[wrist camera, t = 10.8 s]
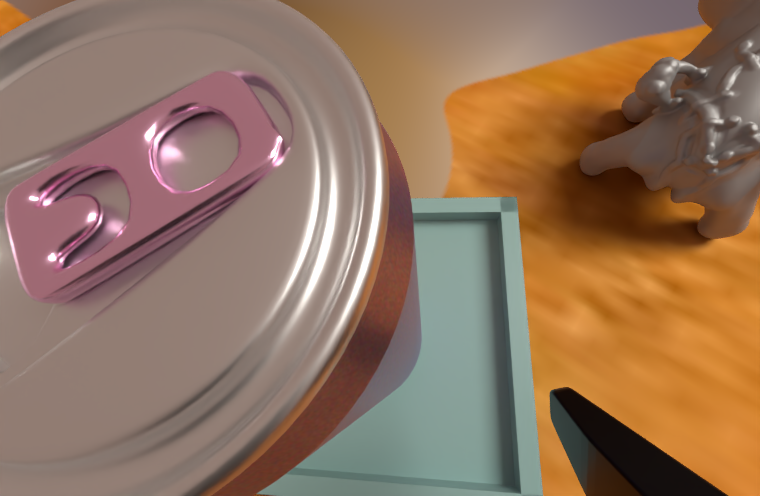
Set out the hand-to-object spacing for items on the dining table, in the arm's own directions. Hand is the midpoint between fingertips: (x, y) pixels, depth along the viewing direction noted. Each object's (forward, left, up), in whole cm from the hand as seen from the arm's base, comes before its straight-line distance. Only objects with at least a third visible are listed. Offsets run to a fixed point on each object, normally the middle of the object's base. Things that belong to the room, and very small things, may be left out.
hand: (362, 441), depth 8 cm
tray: (+3, +1, -9) cm, 9 cm away
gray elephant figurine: (+14, -15, -9) cm, 23 cm away
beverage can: (+3, +2, -9) cm, 9 cm away
